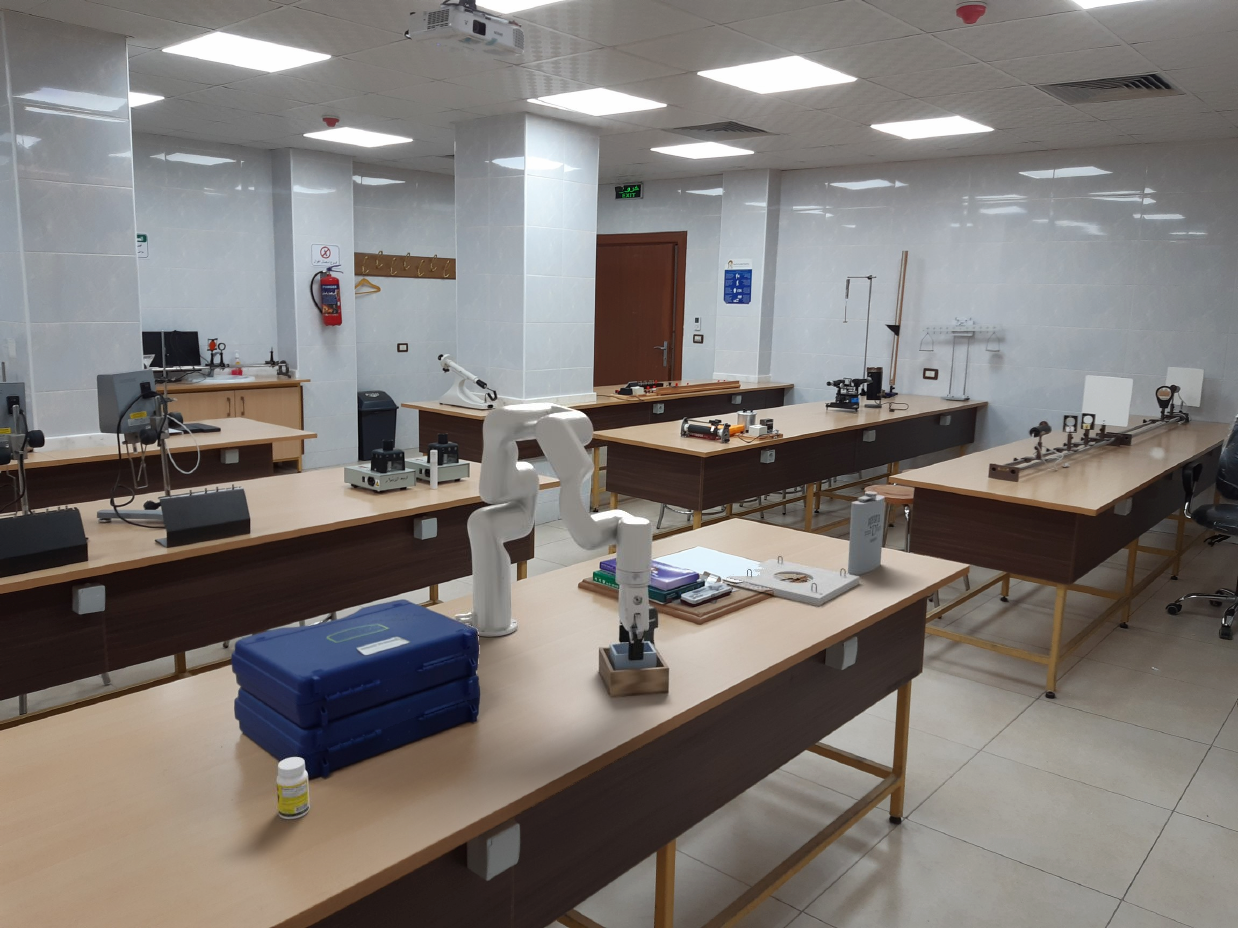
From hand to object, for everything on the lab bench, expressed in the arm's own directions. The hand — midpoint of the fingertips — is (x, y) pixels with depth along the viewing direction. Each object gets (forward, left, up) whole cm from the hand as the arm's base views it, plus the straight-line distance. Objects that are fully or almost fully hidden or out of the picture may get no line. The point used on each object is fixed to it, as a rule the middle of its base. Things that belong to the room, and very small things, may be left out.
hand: (630, 650), depth 187 cm
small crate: (0, 0, -6) cm, 6 cm away
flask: (+92, +70, -7) cm, 116 cm away
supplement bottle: (-64, -40, -7) cm, 75 cm away
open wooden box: (0, -1, -7) cm, 7 cm away
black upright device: (+6, +14, -7) cm, 17 cm away
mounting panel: (+63, +59, -8) cm, 87 cm away
